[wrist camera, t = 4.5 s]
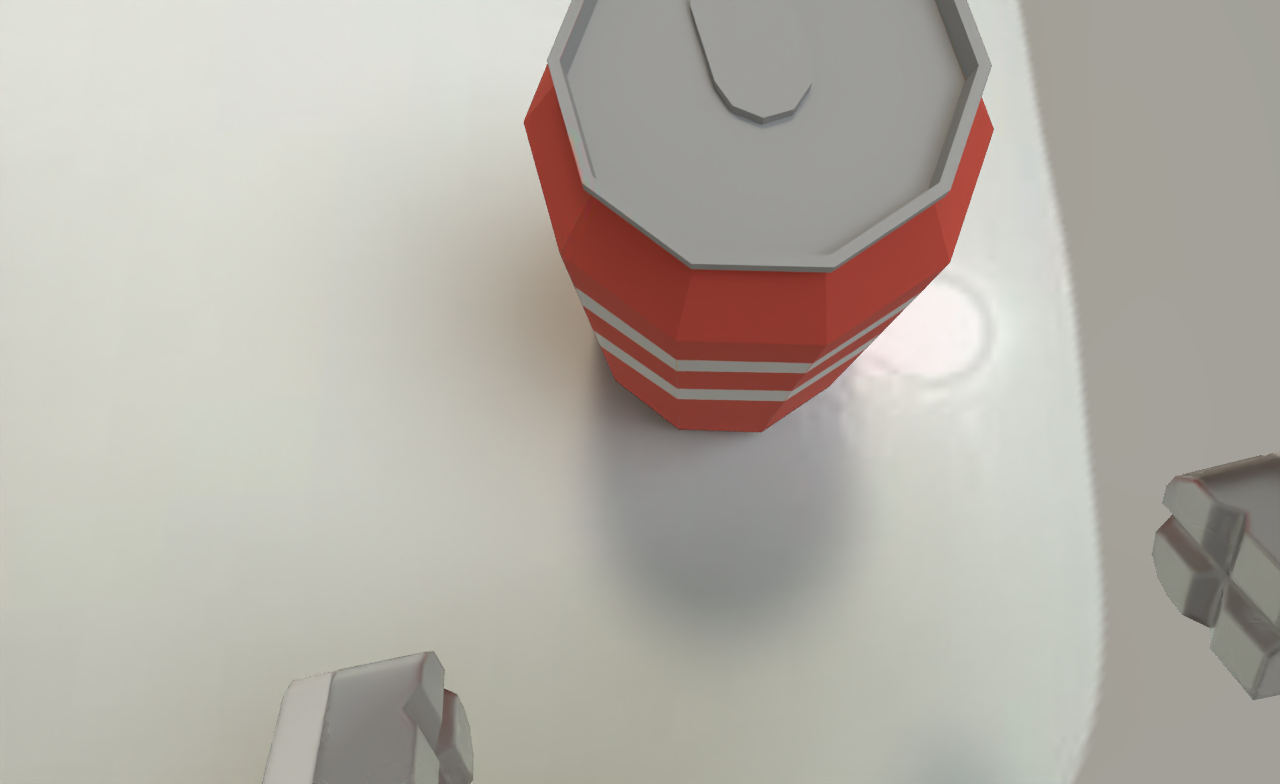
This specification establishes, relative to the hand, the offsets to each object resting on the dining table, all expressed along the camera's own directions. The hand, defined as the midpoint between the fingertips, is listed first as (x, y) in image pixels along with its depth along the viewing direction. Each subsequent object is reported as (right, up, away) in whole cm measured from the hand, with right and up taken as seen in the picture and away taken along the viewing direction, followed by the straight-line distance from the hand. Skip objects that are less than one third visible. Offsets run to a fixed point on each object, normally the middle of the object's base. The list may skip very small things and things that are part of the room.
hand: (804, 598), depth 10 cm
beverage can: (0, +4, +13) cm, 13 cm away
